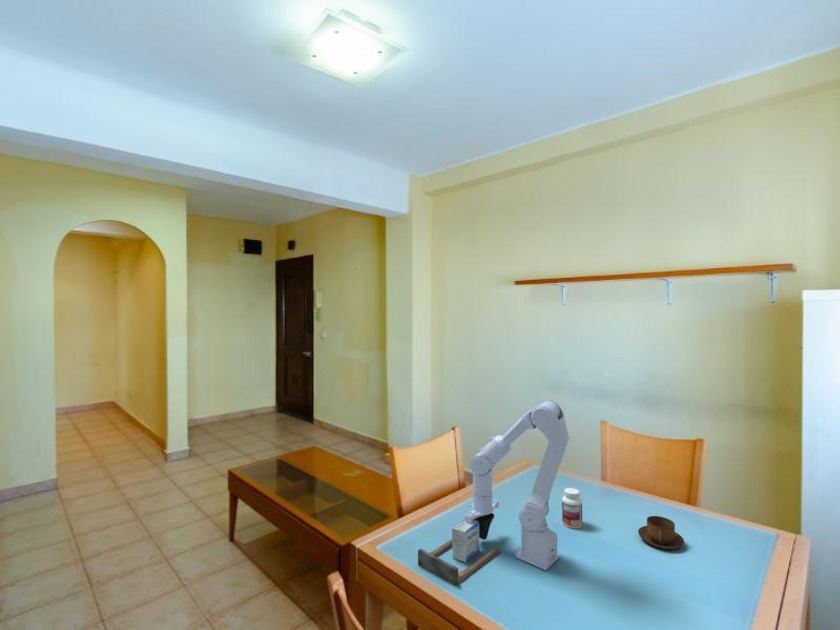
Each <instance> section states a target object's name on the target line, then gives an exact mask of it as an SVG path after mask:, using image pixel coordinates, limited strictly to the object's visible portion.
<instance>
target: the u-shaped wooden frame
mask: <svg viewBox="0 0 840 630" xmlns="http://www.w3.org/2000/svg"><path fill="white" fill-rule="evenodd" d="M451 548H452V539H449V540H448V541H447V542H445V543H444V544H442V545H440V546H439V547H437V548H436V549H434V550H432V551H431V552H428V551H426V550H424V549H422V548H420V549H418V550H417V565H418V566H420V567H421V568H424V569H426V570H427V571H429V572H431V573H432V574H434V575H436V576H438V577H440V578H442V579H444V580H445V581H447V582H449V583H450V584H452V585H454V586H457V585H459V584H460V583H461V582H462V581H464V580H465V579H467V578H468V577H469V576H470V575H472V574H473V573H474V572H476V571H477V570H479V569H480V568H481V567H482V566H484V565H485V564H487V563H488V562H489V561H490V560H492V559H493V558H495V557H496V556H497V555H498V554H500V548H499V547H496V546H495V547H493V548H492V549H491V550H489V552H487V553H485V554H483V556H481V557H480V558H479V559H477V560H476V561H475V562H474V563H472V564H470V565H469V566H468V567H466V568H465V569H463V570H461V571H460V572H459V568H458V567H457V566H455V565H453V564H451V563H449V562H447V561H446V560H444V559H441V558H439V557H438V556H440V555H441V554H443V553H445V552H446V551H448V550H450V549H451Z"/></svg>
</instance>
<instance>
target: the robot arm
mask: <svg viewBox="0 0 840 630" xmlns="http://www.w3.org/2000/svg"><path fill="white" fill-rule="evenodd" d="M536 428H537V429H538V430H539V431H540V432H541V433H542V434H544V436H545V438H546V440H547V441H548V443H547V445H546V449H545V452H544V455H543V458H542V461H541V464H540V467H539V470H538V472H537V475H536V479H535V481H534V484H533V488H532V490H531V493H530V495H529V496H528V500H527V502H526V503H525V505H524V507H523V508H522V509H521V510H520V512H519V514H518V520H519V523H520V526H521V527H520V528H521V529H520V538H521V539H520V540H521V541H520V543H521V544H520V546H521V547H520V549H521V550H519V551H518V552H517V553H515V555H514V556H515V558H517V559H519V560H522V561H523V562H526V563H529V564H531V565H533V566H535V567H537V568H540V569H542V570H545V571H546V570H548V569H549V568H551V566H552V565H553V564H554V563H555V562H556V561H557V560H559V559H560V558H559V556H558V534H557V533H556V532H555V531H553V530H552V529H551V528H550V527H549V526H548V521H547V519H546V517H547V515H548V514H549V512H550V505H549V501H550V499H551V498H550V495H551V492H552V489H553V487H554V483H555V481H556V477H557V475H558V473H559V469H560V466H561V464H562V461H563V458H564V454H565V452H566V450H567V446H568V443H569V439H570V436H569V432H568V429H567V424H566V420H565V412H564V411H563V409H562V408H561V406H560V405H559V404H558V403H557V402H556V401H554V400H552V399H546V400H543V401H542V402H540V404H539V405H537V406H535V407H534V408H532V409H530V410H529V411H528V412H526V413H525V414H524V415H522V416H521V417H520V418H519V419H518V420H517V421H516V422H515V423H514V424H513V425H512V426H511V427H510V428H509V429H508V430H507V431H506V432H505V433H504V434H503V435H498V434H497V435H493V436H491V437H490V438H489V439H488V441H489V442H488V443H487V444H486V445H484V446H482V447H480V448H479V450H478V451H479V452H478V453H477V454H475V455H473V456H472V457H471V459H470V462H469V468H470V470H471V471H472V503H470V505H469V506H470V509H469V511H468V512H467V513H466V514H465V516H464V517H465V518H464V519H465V521H466V522H468V523H473V520H476V521H478V522H479V539H481V540H482V541H485V540H486V539H487V538H488V535H489V530H490V528H491V524H492V521H493V520H494V518H495V513H494V510H495V508H499V507H500V503H499V502H500V501H499V500H498V499H495V498H493V468H494V466H495V465H496V464H498V463H499V462H501V460H502V459H504V457H505V456H506V455H508V453H510V452H511V448H512V446H511V444H512V443H514V442H515V440H517V439H518V438H519V437H520V436H521V435H522V434H524V433H525V432H526V431H527V430H535V429H536Z"/></svg>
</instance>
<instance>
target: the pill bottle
mask: <svg viewBox="0 0 840 630" xmlns="http://www.w3.org/2000/svg"><path fill="white" fill-rule="evenodd" d="M580 496H581V495H580V490H579V489H576V488H573V487H567V488H564V495H563V496H562V498H561V517H562V518H561V520H562V521H561V522H562V524H563V526H564V527H567V528H570V529H576V530H577V529H580V528H581V527H582V526H583V500H582V498H581V497H580Z"/></svg>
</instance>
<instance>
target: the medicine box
mask: <svg viewBox="0 0 840 630" xmlns="http://www.w3.org/2000/svg"><path fill="white" fill-rule="evenodd" d="M451 532H452V533H451V534H452V536H451V540H452V547H451V548H452V550H451V551H452V558H453V559H455V560H456V561H457V560H458V561H460V562H463V563H468V561H469V560H470V559H471V558H472V557H474V556H475V555H476V554H477V553H478V552H479V551H480V538H479V522H478V521H476V520H473V523H468V522H466V521H465V518H464V519H463V520H462V521H460V522H459V523H457V524H456V525H455V526H454V527H452V531H451Z"/></svg>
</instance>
